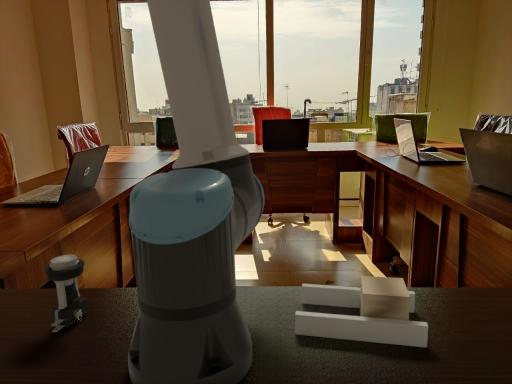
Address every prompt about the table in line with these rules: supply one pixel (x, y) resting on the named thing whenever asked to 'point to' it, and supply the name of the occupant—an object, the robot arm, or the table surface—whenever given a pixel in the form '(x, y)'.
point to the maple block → (384, 298)
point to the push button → (67, 289)
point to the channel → (355, 319)
